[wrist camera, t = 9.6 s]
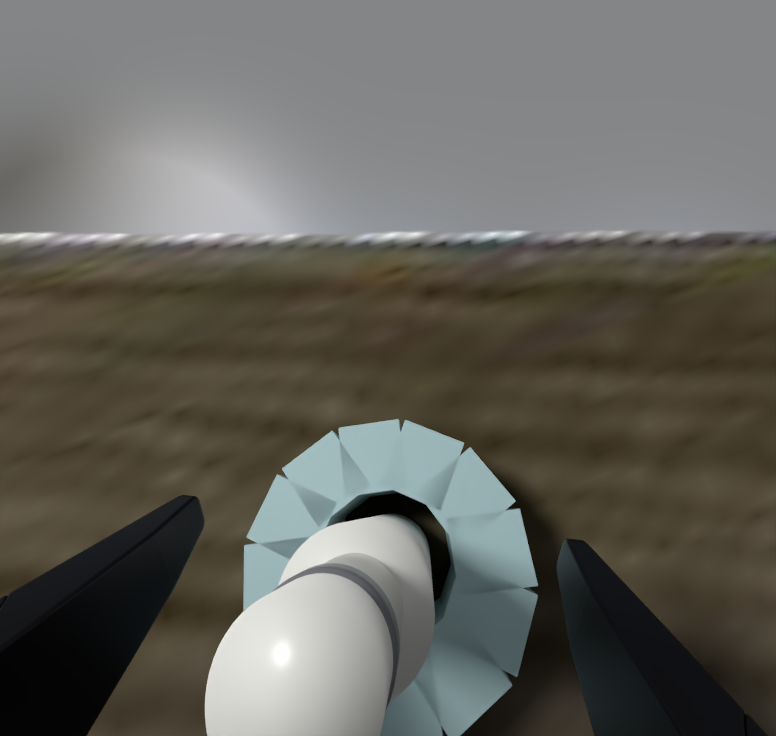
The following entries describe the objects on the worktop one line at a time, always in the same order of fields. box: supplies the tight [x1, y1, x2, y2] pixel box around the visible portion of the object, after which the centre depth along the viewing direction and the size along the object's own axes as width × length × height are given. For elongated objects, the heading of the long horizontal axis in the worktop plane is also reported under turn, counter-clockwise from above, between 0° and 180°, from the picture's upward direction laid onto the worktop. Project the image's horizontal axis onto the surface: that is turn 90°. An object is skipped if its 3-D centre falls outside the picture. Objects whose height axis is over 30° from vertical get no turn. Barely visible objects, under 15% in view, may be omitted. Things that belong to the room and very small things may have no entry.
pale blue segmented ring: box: [244, 419, 538, 736], centre depth 14 cm, size 10×10×3 cm
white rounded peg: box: [205, 513, 435, 736], centre depth 10 cm, size 3×3×12 cm
